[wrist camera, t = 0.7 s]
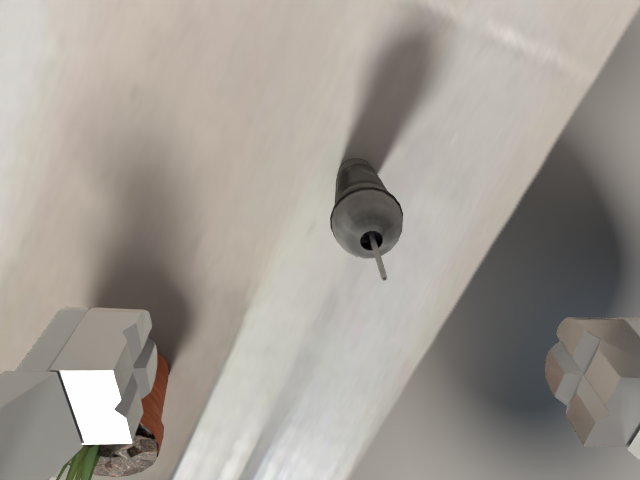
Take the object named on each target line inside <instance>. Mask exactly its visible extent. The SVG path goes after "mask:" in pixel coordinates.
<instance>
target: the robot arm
mask: <svg viewBox="0 0 640 480" xmlns="http://www.w3.org/2000/svg"><path fill="white" fill-rule="evenodd" d="M151 328H152V322H151V318H150V314H149V312H148V311H146V310H142V309H118V308H94V307H93V308H83V307H65V308H63V309H61V310H59V311H58V312H57V314H56V315H55V316H54V318H53V319H52V320H51V322H50V323H49V325H48V326H47V327H46V329H45V330H44V331H43V333H42V334H41V336H40V337H39V338H38V340H37V341H36V342H35V344H34V345H33V347H32V348H31V349H30V351H29V352H28V353H27V355H26V356H25V358H24V359H23V360H22V362H21V363H20V364H19V366H18V367H17V369H16V370H15V371H5V372H3V373H2V374H0V480H49V479H50V478H51V477H52V476H53V475H54V474H55V473H57V472H58V471H59V470H60V469H61V468H62V467H63V466H64V465H65V464H66V463H67V462H68V461H69V460H70V459H71V458H72V457H73V456H74V455H75V454H76V453H77V452H78V451H79V450H81V449H82V448H83V445H82V444H119V443H132V441H133V439H134V436H135V433H136V431H137V428H138V425H139V422H140V420H141V417H142V414H143V407H142V403H141V399H143V398H144V397H145V396H146V395H148V394H149V393H150V392H151V390H152V387H153V384H154V381H155V376H156V370H157V349H156V343H155V342H154V341H152V340H151V339H150V338H149V337H148V335H149V333H150V330H151ZM557 335H558V337H559V339H560V342H559V343H557V344H556V345H555V346H553V347H552V348H551V349H550V350H549V352H548V355H547V358H546V361H545V375H546V379H547V382H548V385H549V387H550V389H551V391H552V393H553V394H554V396H555V397H556V398H557V399H559V400H560V401H562V402H563V403H564V404H566V405H567V406H568V407H567V411H566V417H567V419H568V420H569V422H570V424H571V426H572V427H573V429H574V431H575V432H576V434H577V436H578V437H579V439H580V441H581V443H582V444H583V446H608V447H629V448H628V450H629V451H630V452H631V453H632V454H634V455H635V456H636V457H637V458H638V459H639V460H640V318H615V319H614V318H566V319H565V320H564V321H563V322H562V323H561V324H560V326H559V328H558V330H557Z"/></svg>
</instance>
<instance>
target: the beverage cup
mask: <svg viewBox="0 0 640 480" xmlns="http://www.w3.org/2000/svg"><path fill="white" fill-rule="evenodd" d="M330 222H331V229H332V232H333V234H334V237H335V238H336V240H337V242H338V243H339V244H340V245H341V247H342V248H343V249H344V250H345V251H346V252H348V253H350V254H352V255H354V256H356V257H360V258H375V259H376V262H377V265H378V269H379V272H380V276H381V279H382V280H383V281H386V280H387V275H386V272H385V269H384V265H383V262H382V259H381V256H382V255H384V254H385V253H387V252H388V251H390V250H391V249H392V248H393V247H394V245H395V244H396V243H397V242H398V239H399V237H400V235H401V232H402V222H403V212H402V209H401V206H400V204H399V202H398V201H397V200H396V198H395V197H394V196H393V195H391V194H390V193H389V192H388V191H387V190H386V188H385V186H384V185H383V183H382V181H381V180H380V178H379V177H378V175H377V173H376V172H375V170H374V169H373V168H372V167H371V165H370V164H369V163H368V162H366V161H365V160H361V159H351V160H349V161H346V162H345V163H344V164H342V166H341V167H340V168H339V171H338V174H337V179H336V193H335V206H334V208H333V211H332V214H331V217H330Z"/></svg>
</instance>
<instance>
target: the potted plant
mask: <svg viewBox="0 0 640 480" xmlns="http://www.w3.org/2000/svg"><path fill="white" fill-rule="evenodd" d="M168 374H169V370H168V365H167V361H166V360H165V359H164V358H163V357H162V356H161V354H159V353H158V352H157V370H156V376H155V381H154V384H153V387H152V390H151V392H150V393H149V394H148V395H146V396H145V397H144V398H143V399H141V403H142V407H143V414H142V417H141V420H140V422H139V425H138V428H137V431H136V433H135V436H134V439H133V441H132V443H119V444H82V445H83V448H82V449H81V450H79V451H78V452H77V453H76V454H75V455H74V456H73V457H72V458H71V459H70V460H69V461H68V462H67V463H66V464H65V465H64V466H63V468H62V470H61V472H60V473H59V475H58V477H57V479H56V480H59V479H60V477H61V475H62V474H63V472H64V470H65V468H66V467H67V465H70V469H69V472H68V475H67V478H66V480H73V479H74V476H75V474H76V477H75V480H80V478H81V480H91V478H92V475H93V474H95V475H101V476H111V477H116V476H128V475H132V474H135V473H138V472H142V471H144V470H145V469H147V468H148V467H149V466H151V465H152V464H153V463H154V462H155V461H156V458H157V457H158V454H159V451H160V447H161V444H162V440H163V432H164V426H163V424H162V422H161V417H162V411H163V406H164V400H165V394H166V388H167V382H168ZM76 472H77V473H76ZM81 475H82V476H81Z"/></svg>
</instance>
